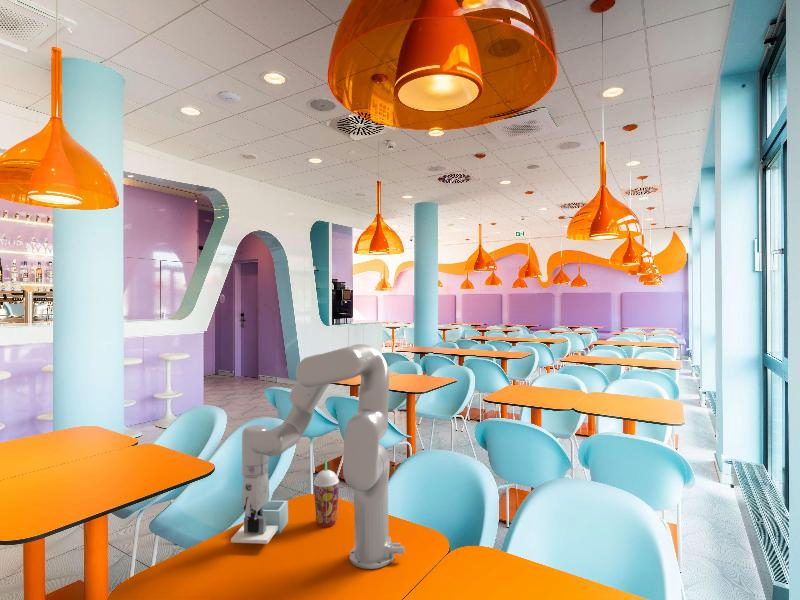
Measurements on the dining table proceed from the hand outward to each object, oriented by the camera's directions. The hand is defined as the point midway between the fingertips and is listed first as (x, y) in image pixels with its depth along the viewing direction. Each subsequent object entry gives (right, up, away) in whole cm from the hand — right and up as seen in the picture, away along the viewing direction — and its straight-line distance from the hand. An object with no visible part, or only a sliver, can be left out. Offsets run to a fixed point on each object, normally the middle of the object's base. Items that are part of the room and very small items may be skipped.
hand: (255, 529), depth 142 cm
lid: (0, -3, 0) cm, 3 cm away
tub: (+1, -4, +10) cm, 11 cm away
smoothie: (+20, -4, +13) cm, 24 cm away
